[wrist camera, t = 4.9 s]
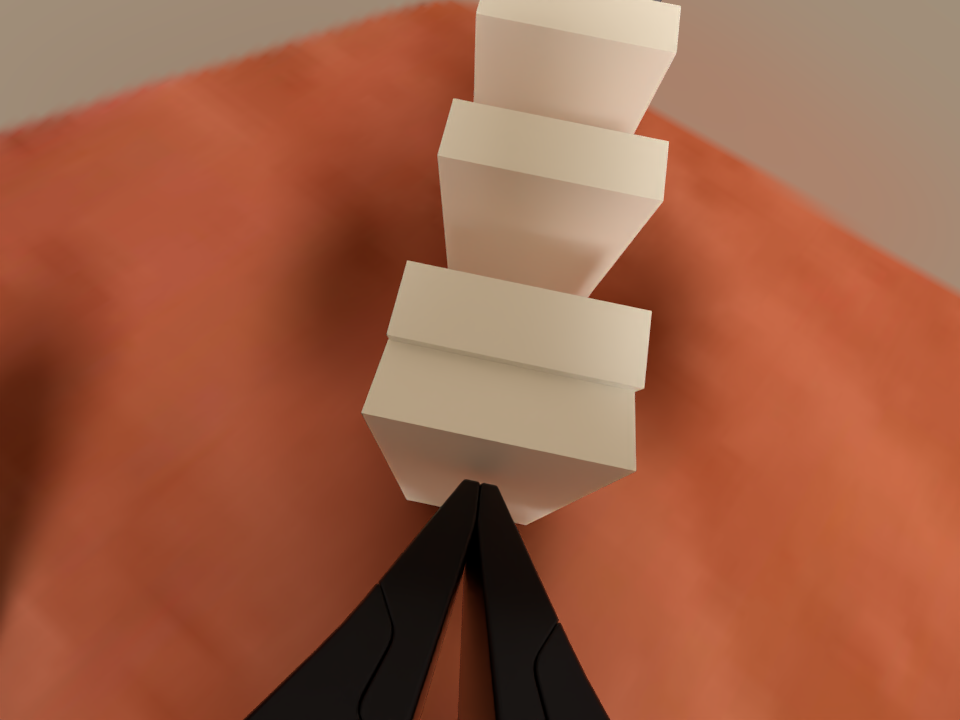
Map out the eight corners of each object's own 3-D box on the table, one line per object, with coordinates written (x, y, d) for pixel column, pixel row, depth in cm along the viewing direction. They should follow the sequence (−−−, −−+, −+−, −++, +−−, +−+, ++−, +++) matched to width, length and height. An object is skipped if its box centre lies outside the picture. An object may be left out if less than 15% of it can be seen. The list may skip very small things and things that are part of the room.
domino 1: (525, 525, 15) (636, 471, 7) (406, 499, 15) (361, 413, 7) (530, 485, 16) (634, 390, 7) (417, 461, 16) (388, 338, 8)
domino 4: (567, 258, 19) (676, 53, 9) (470, 238, 19) (475, 13, 9) (572, 231, 19) (681, 6, 10) (476, 211, 19) (488, -32, 10)
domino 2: (540, 425, 17) (644, 388, 7) (431, 402, 17) (386, 334, 7) (546, 391, 17) (651, 310, 8) (439, 368, 17) (406, 260, 8)
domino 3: (555, 338, 18) (663, 201, 8) (452, 317, 18) (437, 155, 8) (560, 307, 18) (669, 141, 9) (459, 286, 18) (453, 98, 9)
